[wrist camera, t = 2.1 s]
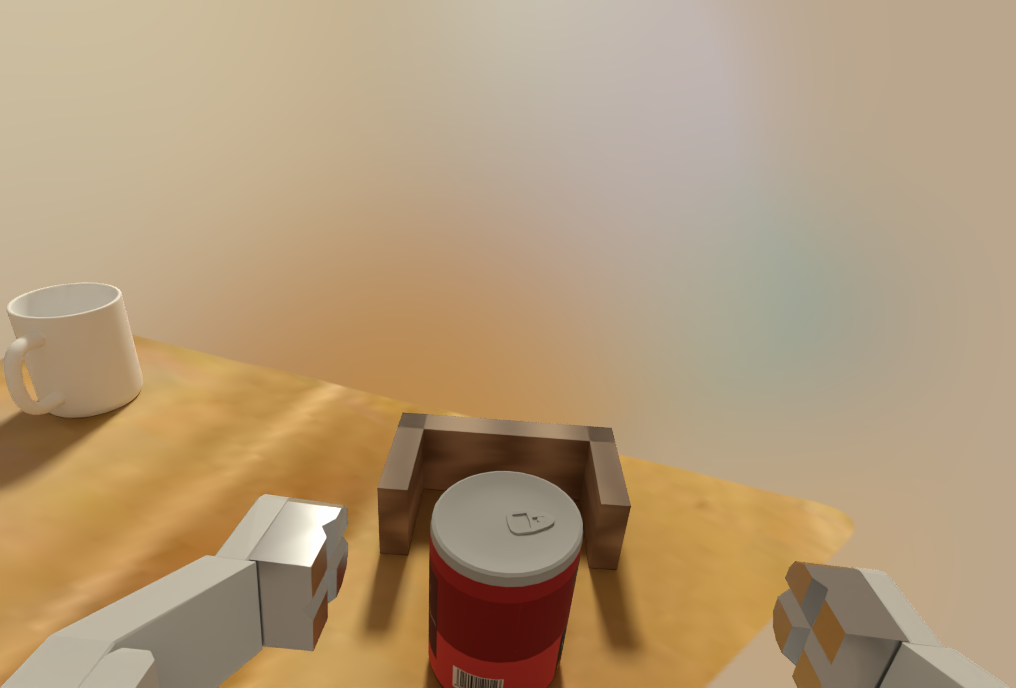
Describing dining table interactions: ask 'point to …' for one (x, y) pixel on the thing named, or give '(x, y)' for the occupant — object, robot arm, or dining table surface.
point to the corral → (504, 447)
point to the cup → (72, 351)
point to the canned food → (501, 580)
